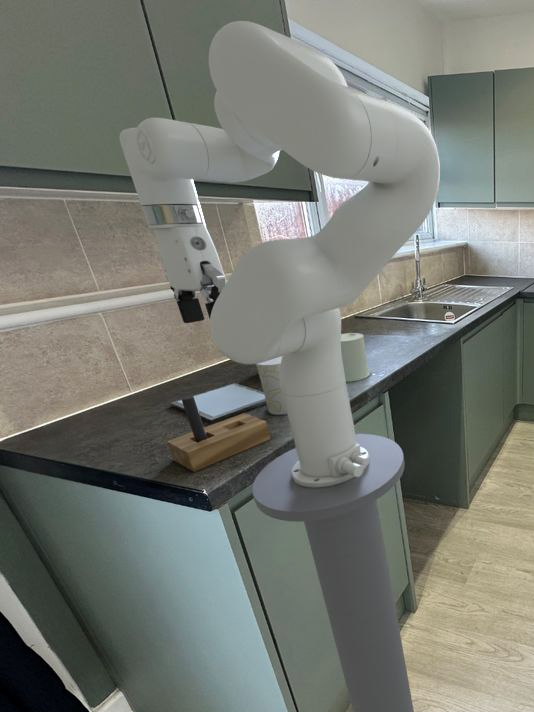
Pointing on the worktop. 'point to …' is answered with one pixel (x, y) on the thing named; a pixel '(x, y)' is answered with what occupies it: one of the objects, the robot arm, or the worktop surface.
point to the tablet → (225, 402)
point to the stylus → (194, 418)
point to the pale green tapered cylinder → (354, 357)
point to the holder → (219, 441)
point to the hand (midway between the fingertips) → (208, 323)
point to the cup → (272, 385)
